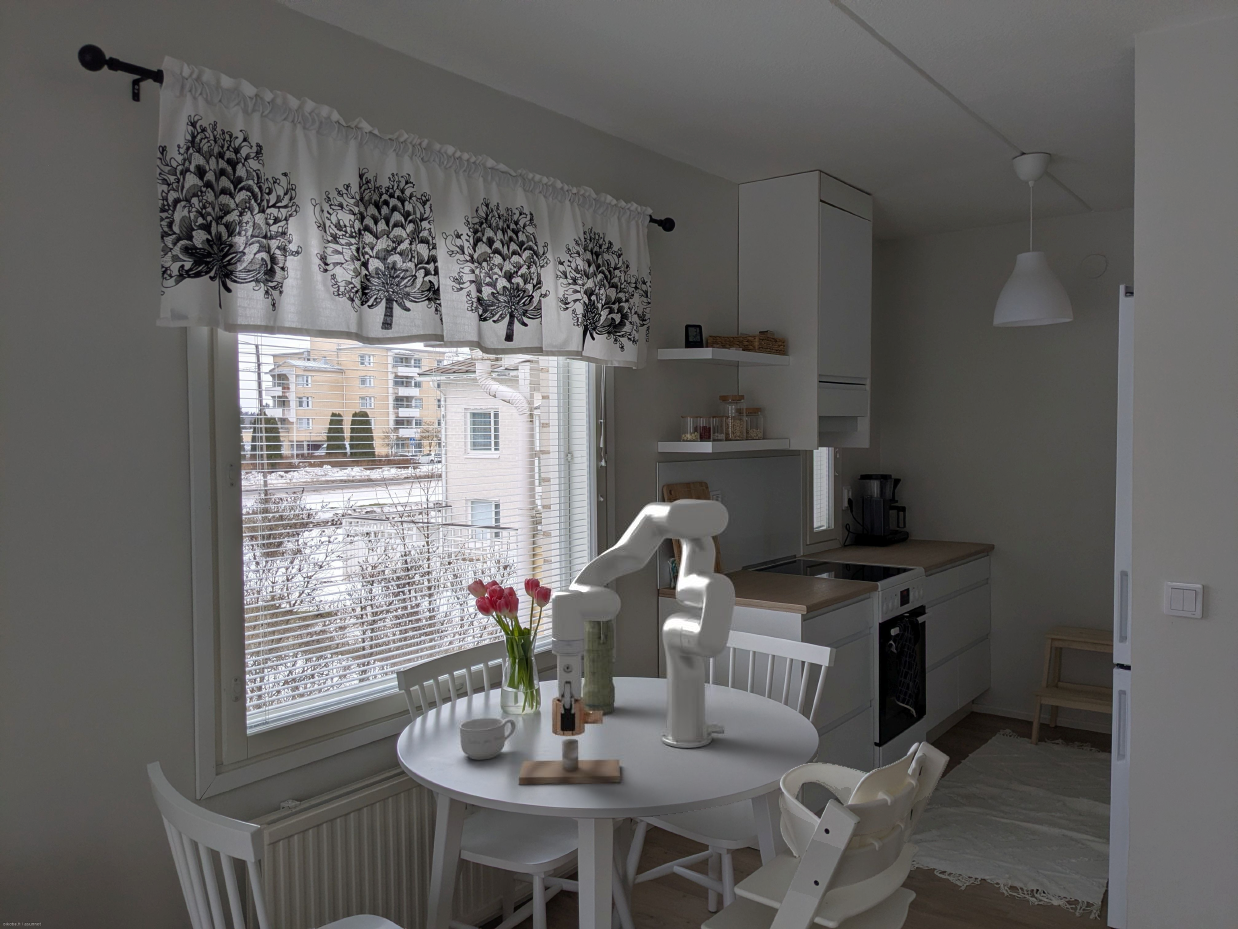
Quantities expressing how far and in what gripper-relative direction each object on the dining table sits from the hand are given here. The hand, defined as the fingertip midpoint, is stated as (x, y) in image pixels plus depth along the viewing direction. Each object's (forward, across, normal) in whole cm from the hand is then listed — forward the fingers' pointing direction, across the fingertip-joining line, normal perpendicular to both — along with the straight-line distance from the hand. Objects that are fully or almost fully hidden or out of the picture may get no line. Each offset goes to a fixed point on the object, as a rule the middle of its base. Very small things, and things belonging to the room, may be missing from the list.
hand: (568, 724), depth 192 cm
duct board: (+11, 0, 0) cm, 11 cm away
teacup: (+12, +14, +20) cm, 27 cm away
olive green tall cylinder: (+11, +48, -6) cm, 50 cm away
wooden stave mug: (+1, 0, -2) cm, 2 cm away
